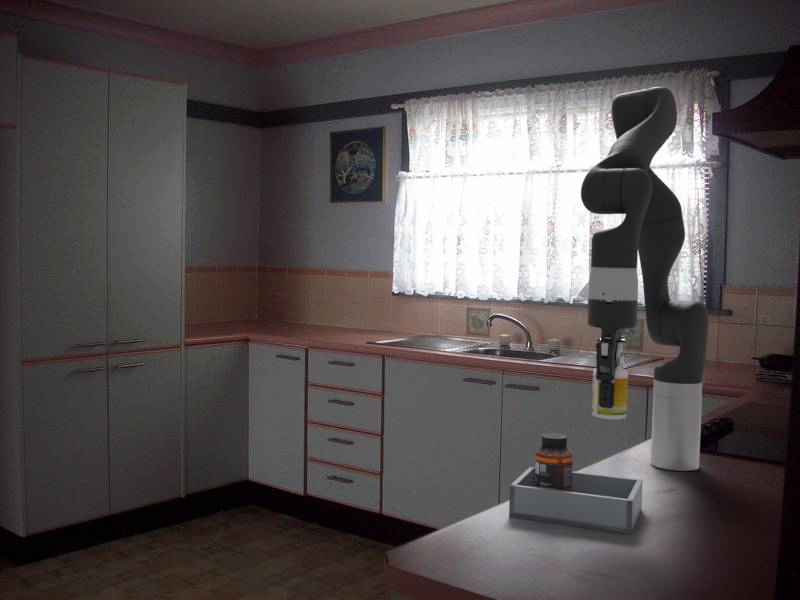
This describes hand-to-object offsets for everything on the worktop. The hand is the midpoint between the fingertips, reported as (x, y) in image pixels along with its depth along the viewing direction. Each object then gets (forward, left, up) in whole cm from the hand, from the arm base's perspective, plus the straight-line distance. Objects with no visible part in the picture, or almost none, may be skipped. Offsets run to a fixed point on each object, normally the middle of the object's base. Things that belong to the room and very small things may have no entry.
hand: (609, 403), depth 129 cm
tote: (0, -5, -18) cm, 19 cm away
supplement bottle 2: (0, 0, -2) cm, 2 cm away
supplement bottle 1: (0, -8, -17) cm, 19 cm away
